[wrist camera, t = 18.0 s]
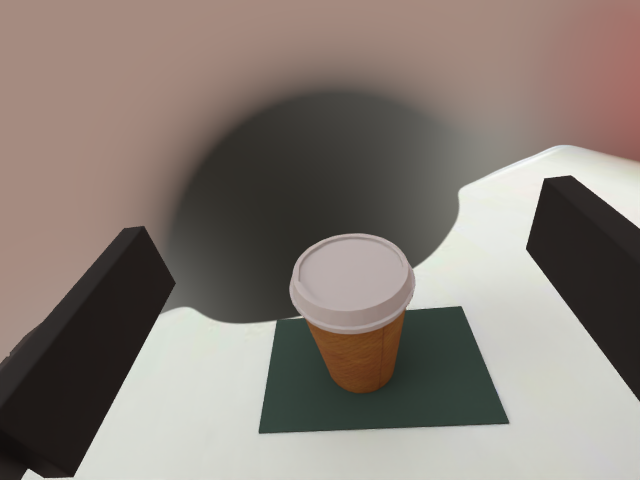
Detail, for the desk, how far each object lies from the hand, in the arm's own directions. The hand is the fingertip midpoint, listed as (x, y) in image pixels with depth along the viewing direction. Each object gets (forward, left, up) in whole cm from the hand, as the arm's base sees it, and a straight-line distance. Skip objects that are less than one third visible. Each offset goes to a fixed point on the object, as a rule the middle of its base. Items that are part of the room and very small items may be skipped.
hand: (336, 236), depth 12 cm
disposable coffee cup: (0, -10, -22) cm, 24 cm away
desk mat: (-1, -10, -22) cm, 24 cm away
